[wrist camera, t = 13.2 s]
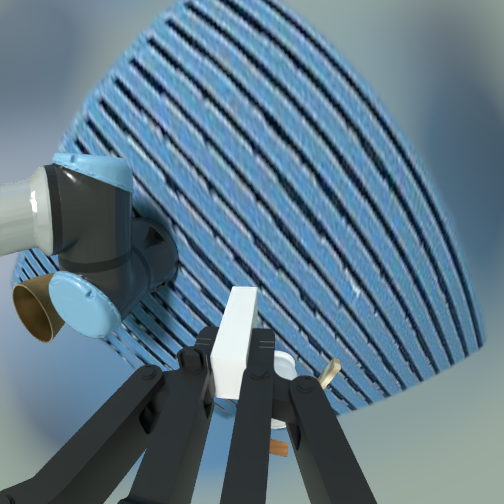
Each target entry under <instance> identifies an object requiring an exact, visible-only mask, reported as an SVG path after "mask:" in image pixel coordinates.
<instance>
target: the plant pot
mask: <svg viewBox="0 0 504 504" xmlns="http://www.w3.org/2000/svg"><path fill="white" fill-rule="evenodd" d="M54 274H55V273H51V274H46V275H42V276H38V277H35V278H32V279H29V280H26V281H24V282H21V283H19V284H17V285H15V286H14V288H13V291H12V298H13V303H14V306H15V309H16V312H17V314H18V316H19V318H20V320H21V322H22V323H23V325H24V326H25V327H26V329H27V330H28V331H29V332H30V333H31V334H32V335H33V336H34V337H35V338H36V339H38V340H39V341H41V342H44V343H50V342H51V341H52V340H53V338H54V337H55V336H56V334H57V333H58V332H59V330H60V329H61V328H62V326H63V325H64V323H65V321H64V320H63V319H62V318H61V316H60V315H59V314H58V312H57V311H56V309H55V307H54V305H53V303H52V301H51V298H50V294H49V283H50V281H51V279H52V277H53V275H54Z"/></svg>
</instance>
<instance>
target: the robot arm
mask: <svg viewBox="0 0 504 504" xmlns="http://www.w3.org/2000/svg"><path fill="white" fill-rule="evenodd" d="M52 163H53V164H52V165H45V166H40V167H39V168H38V169H37V170H36V172H35V173H34V174H33V176H32V177H31V178H30V179H28V180H24V181H19V182H14V183H8V184H3V185H0V256H4V255H8V254H11V253H15V252H19V251H23V250H27V249H31V248H38V249H39V250H40V251H42V252H43V253H44V254H46V255H47V256H52V255H56V254H58V259H59V266H60V271H58V272H56V273H55V274H54V275H53V277H52V279H51V281H50V283H49V294H50V298H51V301H52V303H53V305H54V307H55V309H56V311H57V312H58V314H59V315H60V316H61V318H62V319H63V320H64V321H65V322H66V323H67V324H68V325H69V326H70V327H72V328H73V329H74V330H75V331H77V332H78V333H80V334H82V335H84V336H87V337H90V338H103V337H105V336H107V335H109V334H110V333H111V332H112V331H113V330H114V329H115V328H117V327H119V326H120V324H121V322H122V321H123V320H124V318H125V317H126V316H127V315H128V314H129V313H130V311H131V310H132V309H133V308H134V307H135V306H136V305H137V303H138V302H139V301H140V300H141V299H142V298H143V297H144V295H146V294H149V293H152V292H155V291H158V290H160V289H162V288H163V287H165V286H166V285H167V284H168V283H169V282H170V280H171V279H172V278H173V277H174V275H175V273H176V271H177V267H178V251H177V247H176V245H175V242H174V240H173V238H172V237H171V235H170V234H169V232H168V231H167V230H166V229H165V228H164V227H163V226H162V225H160V224H159V223H158V222H156V221H154V220H152V219H149V218H145V217H136V218H132V195H133V193H134V190H133V188H132V166H131V164H130V163H129V162H128V161H127V160H126V159H123V158H117V157H108V156H99V155H87V154H74V153H55V154H54V156H53V159H52ZM274 352H275V334H274V332H273V331H272V329H260V328H257V287H232V291H231V294H230V297H229V300H228V303H227V306H226V309H225V312H224V315H223V318H222V322H221V325H220V327H209V326H206V327H205V328H203V329H202V330H201V331H200V333H199V335H198V338H197V340H196V342H195V345H194V346H189V347H185V348H183V349H181V350H180V351H179V352H178V353H177V357H178V362H179V366H180V368H179V369H177V370H173V371H164V372H162V370H161V368H160V367H158V366H157V365H152V364H150V365H144V366H141V367H140V368H139V369H137V370H136V371H135V372H134V373H133V374H132V375H131V376H130V378H129V379H128V380H127V381H126V382H125V383H124V384H123V385H122V386H121V387H120V388H119V389H118V390H117V391H116V392H115V393H114V394H113V395H112V396H111V397H110V398H109V399H108V400H107V401H106V402H105V403H104V404H103V405H102V406H101V408H100V409H99V410H98V411H97V412H96V413H95V414H94V415H93V416H92V417H91V418H90V419H89V420H88V421H87V422H86V423H85V424H84V425H83V426H82V427H81V428H80V429H79V430H78V432H76V433H75V434H74V435H73V436H72V438H71V439H70V440H69V441H68V442H67V443H66V444H65V445H64V446H63V447H62V448H61V449H60V450H59V451H58V452H57V453H56V454H55V455H54V456H53V457H52V458H51V459H50V460H49V461H48V462H47V463H46V464H45V466H44V467H43V468H42V469H41V470H40V471H39V472H38V473H37V474H36V475H35V476H34V477H33V478H31V479H28V480H26V481H24V482H22V483H19V484H17V485H14V486H12V487H9V488H7V489H4V490H2V491H0V504H103V503H104V502H105V501H106V499H107V498H108V497H109V496H110V494H111V493H112V492H113V491H114V489H115V488H116V487H117V486H118V484H119V483H120V482H121V481H122V479H123V478H124V476H125V475H126V474H127V473H128V471H129V470H130V469H131V468H132V466H133V465H134V464H135V462H136V461H137V460H138V458H139V457H140V456H141V454H142V453H143V452H144V451H145V449H146V448H147V449H146V451H145V454H144V457H143V459H142V462H141V464H140V467H139V469H138V472H137V474H136V477H135V480H134V482H133V485H132V488H131V490H130V493H129V495H128V496H127V497H126V498H124V499H121V500H120V501H119V502H118V503H117V504H190V503H191V499H192V495H193V491H194V487H195V483H196V479H197V475H198V470H199V466H200V462H201V458H202V454H203V450H204V446H205V442H206V438H207V433H208V429H209V425H210V421H211V417H212V413H213V409H214V399H213V398H214V394H215V393H216V397H217V398H227V399H238V405H237V411H236V417H235V423H234V429H233V434H232V439H231V445H230V451H229V456H228V462H227V467H226V473H225V478H224V483H223V489H222V494H221V500H220V504H265V501H266V489H267V477H268V464H269V463H268V462H269V450H270V434H271V418H272V419H276V420H279V421H282V422H285V424H286V427H287V431H288V434H289V437H290V440H291V443H292V446H293V449H294V453H295V456H296V459H297V462H298V465H299V469H300V472H301V475H302V478H303V481H304V484H305V487H306V490H307V493H308V497H309V500H310V502H311V504H377V502H376V500H375V498H374V496H373V494H372V492H371V490H370V487H369V485H368V483H367V481H366V479H365V477H364V475H363V473H362V470H361V468H360V466H359V464H358V462H357V460H356V458H355V456H354V453H353V451H352V449H351V447H350V445H349V443H348V441H347V439H346V437H345V435H344V432H343V430H342V428H341V426H340V424H339V422H338V420H337V418H336V416H335V413H334V411H333V409H332V407H331V405H330V403H329V401H328V399H327V397H326V395H325V393H324V390H323V388H322V386H321V384H320V383H319V381H318V380H317V379H315V378H313V377H311V376H298V377H295V378H294V379H293V380H288V379H285V378H282V377H281V376H279V375H278V374H277V373H276V372H275V370H274Z"/></svg>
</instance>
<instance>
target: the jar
mask: <svg viewBox="0 0 504 504" xmlns="http://www.w3.org/2000/svg"><path fill="white" fill-rule="evenodd" d="M274 370H275V372H276V373H277V374H278V375H279V376H281V377H282V378H285V379H288V380H293V379H294V378H295V377H297V373H296V370H295V361H294V359H293V357H292V356H291V355H289V354H288V353H285V352H282V351H275V352H274ZM283 427H286V424H285V422H282V421H279V420H276V419H272V418H271V428H273V429H275V428H283Z"/></svg>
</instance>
